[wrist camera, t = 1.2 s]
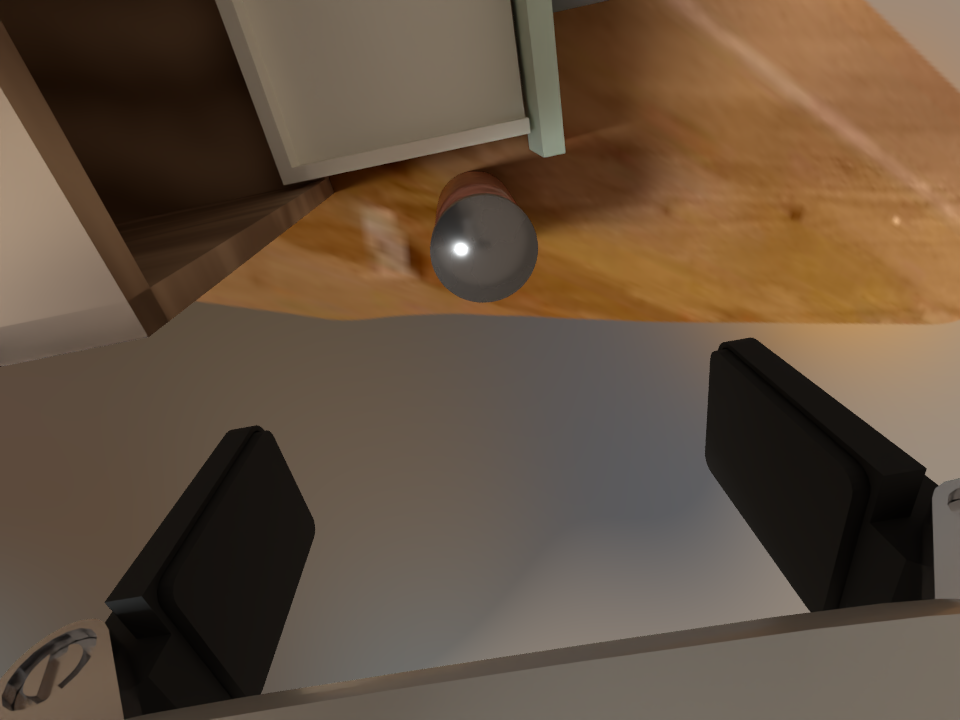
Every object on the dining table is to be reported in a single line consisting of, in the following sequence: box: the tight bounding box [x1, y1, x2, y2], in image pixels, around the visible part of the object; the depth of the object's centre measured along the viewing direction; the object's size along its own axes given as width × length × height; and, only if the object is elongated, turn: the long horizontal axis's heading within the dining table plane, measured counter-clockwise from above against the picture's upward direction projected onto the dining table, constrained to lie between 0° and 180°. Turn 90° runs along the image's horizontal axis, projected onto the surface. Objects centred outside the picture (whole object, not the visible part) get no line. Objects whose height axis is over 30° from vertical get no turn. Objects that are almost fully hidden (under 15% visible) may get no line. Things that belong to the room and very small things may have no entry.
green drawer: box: [215, 0, 608, 185], centre depth 25 cm, size 16×23×5 cm
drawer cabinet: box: [0, 0, 334, 367], centre depth 18 cm, size 16×16×22 cm
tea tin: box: [430, 171, 538, 302], centre depth 28 cm, size 5×5×10 cm
